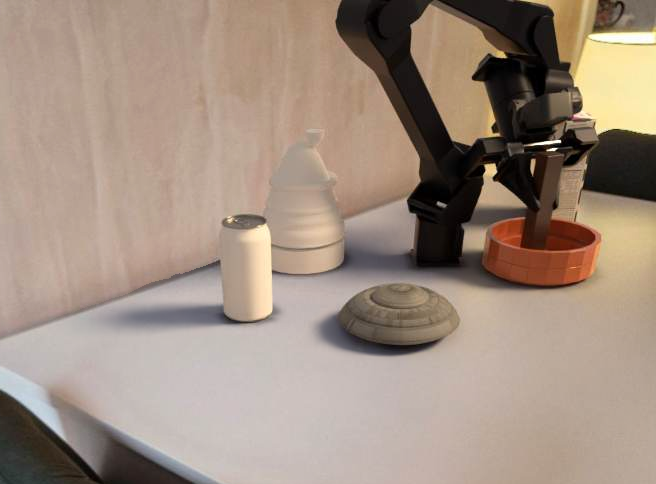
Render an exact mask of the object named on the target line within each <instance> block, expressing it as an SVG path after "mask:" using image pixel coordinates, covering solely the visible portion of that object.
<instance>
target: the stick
mask: <svg viewBox="0 0 656 484" xmlns="http://www.w3.org/2000/svg"><path fill="white" fill-rule="evenodd" d="M563 158H564V154H561V153H558V152H555V151H545V152H537V156H536V161H535V160H534V167H533V173H532V174H533V175H532V176H533V180H534V183H535V186H536V190H537V193H538V197H539V201H540V207H541V209H540V210H539V211H538V212H537V213H534V212H533V211H531V210H530V209H529V208H528V207H527V206H526V212H525V216H524V217H525V222H524V227H523V233H522V238H521V243H520V248H526V249H531V250H543V251H547V250H546V249H545V247H546V242H547V237H548V232H549V227H550V222H551V217H552V212H553V207H554V202H555V198H556V193H557V188H558V183H559V178H560V173H561V168H562V163H563Z"/></svg>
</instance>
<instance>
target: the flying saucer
mask: <svg viewBox="0 0 656 484" xmlns="http://www.w3.org/2000/svg"><path fill="white" fill-rule="evenodd" d="M460 321H461V319H460V315H459V313H458V311H457V310H456V308H455V307H454V306H453V304H452V302H450V301H449V300H448V299H447V298H446V297H445V296H444V295H442V294H440V293H439V292H436V291H434V290H432V289H430V288H427V287H425V286H422V285H417V284H411V283H405V282H404V283H403V282H396V283H395V282H394V283H384V284H379V285H375V286H371V287H369V288H366V289H364V290H361V291H360V292H358V293H356V294H355V295H354V296H352V297H351V298H349V300H348V301H347V302H346V303H345V304H344V305H343V307H341V309H340V311H339V313H338V322H339V323H340V324H341V326H342V327H343V328H344V329H345V330H346V331H348V332H349V333H350V334H351V335H354V336H356V337H358V338H360V339H363V340H367V341H369V342H374V343H378V344H383V345H393V346H413V345H420V344H428V343H431V342H434V341H438V340H441V339H443V338H445V337H447V336H449V335H450V334H452V333H453V332H454V331H456V330H457V329H458V327H459V325H460V323H461V322H460Z"/></svg>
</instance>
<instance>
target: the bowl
mask: <svg viewBox="0 0 656 484" xmlns="http://www.w3.org/2000/svg"><path fill="white" fill-rule="evenodd" d="M524 222H525V216H522V217H521V216H519V217H512V218H506V219H503V220H499V221H496V222H494V223H492V224H491V225H489V226H487V228H486V232H485V238H484V245H483V253H482V258H481V264H482V266H483V267H484V269H485V270H487V271H488V272H489V273H492V274H493V275H495V276H496V277H499V278H502V279H504V280H506V281H509V282H513V283H517V284H523V285H528V286H538V287H539V286H542V287H551V286H554V287H555V286H562V285H563V286H564V285H568V284H572V283H577V282H580V281H583V280H585V279H587V278H590V276H592V275H593V274H594V272H595V270H596V265H597V261H598V258H599V255H600V250H601V246H602V234H601V233H599V232H598V231H597V230H596V229H595V228H592V227H590V226H588V225H586V224H584V223H580V222H577V221H576V222H573V221H569V220H563V219H557V218H551V222H550V227H549V232H548V237H547V242H546V247H545V249H546V250H547V251H543V250H531V249H526V248H520V243H521V238H522V233H523V227H524Z"/></svg>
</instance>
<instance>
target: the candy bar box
mask: <svg viewBox="0 0 656 484" xmlns="http://www.w3.org/2000/svg"><path fill="white" fill-rule="evenodd" d="M596 124H597V118H596V117H594V116H593V115H591V114H589V112H586V110H584V109H582V110H581V112H579V113H577V114H575V115H574V118H573V119H572V120H569V121H568V120H566V121H564V122H562V123H559V124H557V128H558V130H557V131H556V132H555V133H554V134H553V135H550V136H549V137H548V141H557V140H558V139H559V138H560V137H561V136H562V135H563V134H564V133H565V132H566V131H567V130H568V129H570V128H579V127H588V126H589V127H592V128H595V129H596ZM589 158H590V153H588V154H587V155H586V156H585V157H584V158H583V159H582V160H581V161H580V162H579V163H578V164H577V165H575V166H573V167H569V168H562V171H561V178H560V192H559V206H558V208H557V209H555V210H553V212H552V217H551V218H557V219H563V220H569V221H573V222H577V220H576V219H577V216H578V212H579V211H578V210H579V206H580V202H581V196H582V193H583V192H582V191H583V188H584V187H583V186H584V182H585V176H586V173H587V168H588V163H589Z"/></svg>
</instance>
